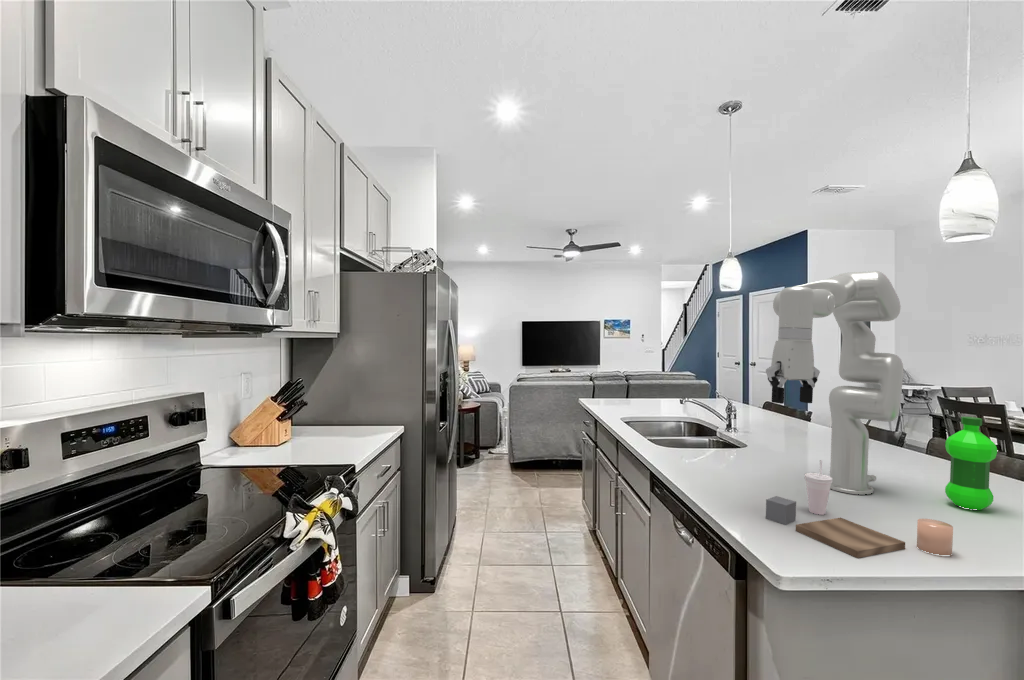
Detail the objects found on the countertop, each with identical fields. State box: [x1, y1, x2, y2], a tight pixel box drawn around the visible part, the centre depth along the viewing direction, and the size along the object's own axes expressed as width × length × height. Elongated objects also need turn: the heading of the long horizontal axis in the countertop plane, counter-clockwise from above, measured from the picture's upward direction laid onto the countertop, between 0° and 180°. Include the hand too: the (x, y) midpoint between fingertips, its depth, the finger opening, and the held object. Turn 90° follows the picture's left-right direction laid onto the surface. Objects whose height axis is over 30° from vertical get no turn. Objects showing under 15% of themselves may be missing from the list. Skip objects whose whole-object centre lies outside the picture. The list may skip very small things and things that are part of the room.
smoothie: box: [804, 460, 833, 516], centre depth 132 cm, size 6×6×14 cm
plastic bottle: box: [944, 416, 998, 511], centre depth 137 cm, size 10×10×25 cm
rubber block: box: [765, 495, 797, 526], centre depth 126 cm, size 5×5×5 cm
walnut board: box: [795, 517, 906, 559], centre depth 115 cm, size 15×15×2 cm
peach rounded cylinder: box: [916, 518, 954, 555], centre depth 109 cm, size 6×6×6 cm
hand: (791, 402), depth 126 cm, fingers open, 9 cm apart
